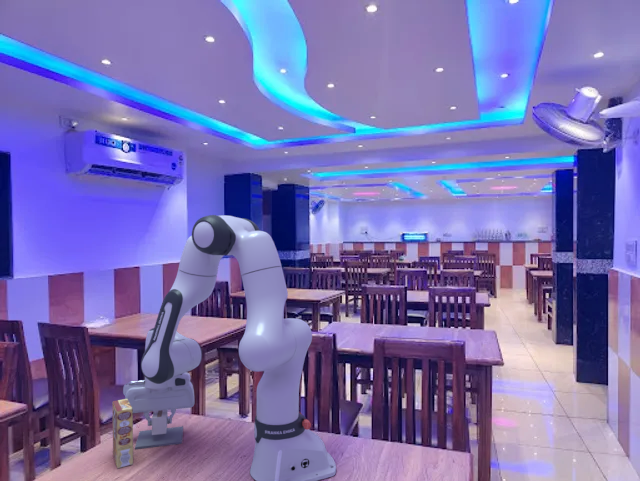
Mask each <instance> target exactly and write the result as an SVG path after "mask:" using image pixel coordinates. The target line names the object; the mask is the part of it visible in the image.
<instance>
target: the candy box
mask: <svg viewBox="0 0 640 481" xmlns="http://www.w3.org/2000/svg"><path fill="white" fill-rule="evenodd" d="M133 414H134V413H133V408H132V406H131V405H130V403H129V401H128V399H125V398H123V399H118V400H113V401H112V456H113V460H114V462H115V465H116V468H117V469H122V468H124V467H128V466H132V465H134V434H133V433H134V427H133V425H134V424H133V423H134V422H133V420H134V417H133V416H134V415H133Z"/></svg>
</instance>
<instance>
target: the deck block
mask: <svg viewBox="0 0 640 481" xmlns="http://www.w3.org/2000/svg"><path fill="white" fill-rule="evenodd" d="M152 412H153V413H152V416H151V418H152V426H151V430H152V435H157V434H166V431H167V428H168V424H167V416H168V414H169V413H168V412H169V410H161V411H152Z"/></svg>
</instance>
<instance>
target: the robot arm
mask: <svg viewBox="0 0 640 481" xmlns="http://www.w3.org/2000/svg"><path fill="white" fill-rule="evenodd" d="M224 256H227V257H228V256H233V257H234V258H235V259H236V260H237V263H238V266H239V270H240V276H241V281H242V287H243V289H244V291H243V292H244V297H245V301H246V324H245V329H244V334H243V336H242V338H241V339H240V341H239V345H238V357H239V359H240V361H241V363H242V364H243V365H244V367H245V368H246V369H248V370H249V371H251V372H263V374H262V376H261V378H260V380H259V381H258V383H257V386H256V415H255V416H254V417H255V418H254V424H253V426H254V428H253V432H254V433H253V434H254V441H255V442H254V451H253V456H252V457H253V458H252V462H251V465H250V469H249V474H250V477H251V478H252V479H253V480H255V481H320V480H323V479H327V478H331V477H334V476H335V475H336V473H337V464H336V462H335V460H334V458H333V457H332V455H331V454H330V453H329V452H328V451H327V448H326V445H325V443H324V441H323V440H322V438H321V437H320V436H319V435H318V434H316V433H315V432H313V431H312V430H311V429H310V428H311V427H312V424H311V422H310V420H309V419H307V418H306V416H305V415H304V414H303V413H301V411H299V410H300V407H299V406H300V398H299V397H300V394H299V393H300V385H301V384H300V382H301V377H302V373H303V368H304V365H305V364H304V363H305V358H306V356H307V353H308V349H309V348H310V347H311V346H310V345H311V344H312V340H313V333H312V332H313V331H312V329H311V327H310V325H309V324H308V323H307V322H306V321H304V320H303V319H300V318H293V317H289V318H284V317H285V314H284V313H285V305H286V301H287V300H288V296H289V294H288V292H289V291H288V288H287V287H288V286H287V284H286V278H285V274H284V270H283V267H282V263H281V259H280V255H279V252H278V250H277V247H276V245H275V241H274V240H273V238H272V236H271V235H270V234H269V233H268V232H266V231H262V230H261V229H260V228H259V226H258V224H256V223H255V222H254V221H252V220H251V219H249V218H243V217H242V218H241V217H238V216H237V217H236V216H233V215H224V214H223V215H222V214H221V215H216V214H210V215H205V216H202V217H200V218H198V219H197V220H196V222H194V225H193V227H192V230H191V235H190V236H189V237H188V238H187V239H186V242H185V244H184V246H183V249H182V254H181V256H180V260H179V263H178V268H177V269H178V270H177V273H176V277H175V279H174V282H173V284H172V286H171V288H170V290H169V291H168V292H167V293H166V295H165V297H164V298H163V301H162V302H161V306H160V308H159V312H158V315H157V318H156V321H155V325H154V327H153V328H150V329H149V330H148V331H147V334H146V338H145V343H144V344H145V346H144V353H143V354H142V357H141V360H140V361H141V362H140V371H141V372H142V374H143V376H144V379H140V380H130V381H128V382H127V383H125V384H124V385H123V387H122V388H123V390H122V393H123V395H124V396H125V398H124V399H128V401H129V403H130V405H131V406H132V408H133V414H137V413H139V414H140V413H143V417H144V418H145V419H146V421H147V427H152V417H150V415H149V414H150V412H154V411H161V410H168V411H169V410H170V415H169V416H167V425H171V424H173V417H174V416H175V414H176V411H177V410H181V409H189V408H193V407H194V405H195V390H194V385H193V382H191V374H190V373H189V372H190V371H192V370H194V369H196V368H197V367H199V366H200V365H201V362H202V359H203V350H202V347H201V345H200V343H199V342H198V341H197V340H196V339H194V338H189V337H188V336H187V337H186V336H185V335H183V334H181V333H179V332H178V331H177V330H178V328H179V324H180V322H181V320H182V318H183V317H184V316H185V315H186V314H187V313H188V312H189V311H190V310H191V309H193V308H195V307H196V306H197V305H199V304H201V303H202V302H204V301H206V300H207V299H209V297H210V296H212V293H213V291H214V290H215V289H214V288H215V286H216V283H217V277H218V271H219V266H220V265H219V264H220V263H221V262H220V261H221V260H222V258H223V257H224Z"/></svg>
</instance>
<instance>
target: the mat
mask: <svg viewBox="0 0 640 481" xmlns="http://www.w3.org/2000/svg"><path fill="white" fill-rule="evenodd" d="M183 433H184V426H183V425H182V426H181V425H180V426H174V427H173V426H172V427H167V431H166V434H157V435H152V429H147V430H140V431H139V432H138V436H137V439H136V443H135V446H134V450H141V449H142V450H143V449H149V448H150V449H151V448H158V447H165V446H166V447H167V446H174V445H181V444H183V437H184V434H183Z"/></svg>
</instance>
